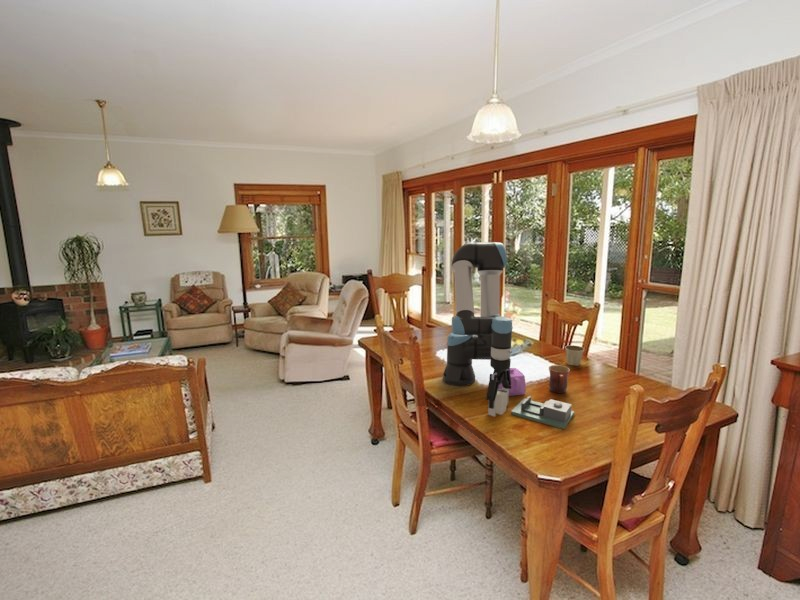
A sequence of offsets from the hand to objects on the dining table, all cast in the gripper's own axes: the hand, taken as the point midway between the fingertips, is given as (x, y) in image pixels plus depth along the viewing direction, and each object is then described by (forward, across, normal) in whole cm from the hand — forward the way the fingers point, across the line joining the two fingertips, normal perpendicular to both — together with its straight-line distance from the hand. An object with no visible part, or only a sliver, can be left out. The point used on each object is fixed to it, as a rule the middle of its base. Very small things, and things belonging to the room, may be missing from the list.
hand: (498, 409), depth 163 cm
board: (+1, +8, -15) cm, 17 cm away
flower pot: (+1, +72, -10) cm, 73 cm away
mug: (+1, +32, -14) cm, 35 cm away
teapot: (+1, +22, +4) cm, 22 cm away
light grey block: (+1, 0, 0) cm, 1 cm away
